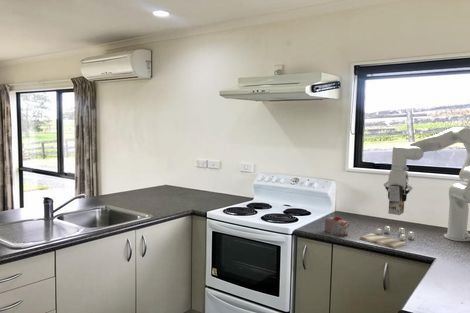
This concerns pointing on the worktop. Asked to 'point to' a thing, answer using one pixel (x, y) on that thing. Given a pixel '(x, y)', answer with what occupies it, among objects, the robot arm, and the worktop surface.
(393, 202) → the coffee box
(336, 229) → the food item
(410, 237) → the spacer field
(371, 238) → the board
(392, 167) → the robot arm
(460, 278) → the worktop surface
